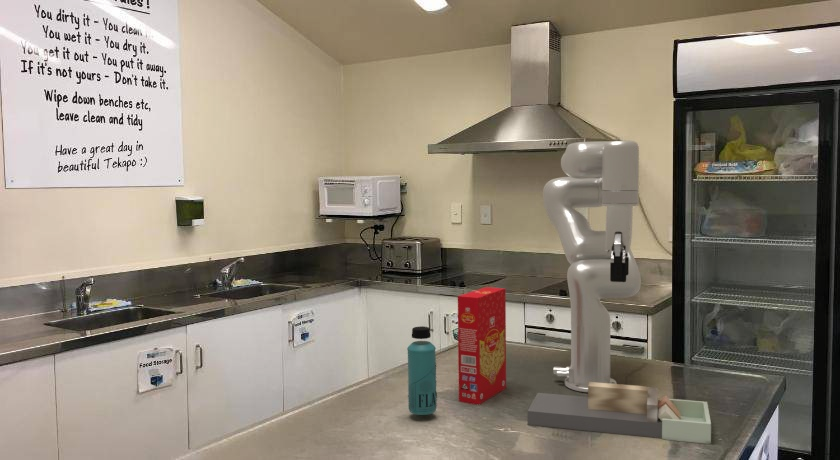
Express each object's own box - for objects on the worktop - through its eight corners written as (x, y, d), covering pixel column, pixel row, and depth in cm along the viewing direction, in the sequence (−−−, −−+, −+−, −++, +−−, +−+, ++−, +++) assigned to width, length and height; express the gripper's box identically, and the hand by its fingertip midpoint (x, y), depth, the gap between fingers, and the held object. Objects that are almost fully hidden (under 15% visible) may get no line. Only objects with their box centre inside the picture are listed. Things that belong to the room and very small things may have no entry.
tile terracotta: (658, 407, 148) (665, 401, 147) (658, 400, 152) (665, 395, 152) (672, 424, 147) (680, 418, 147) (672, 417, 151) (680, 411, 151)
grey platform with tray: (527, 425, 150) (527, 407, 149) (538, 404, 163) (538, 387, 162) (710, 444, 138) (711, 424, 138) (706, 420, 151) (707, 401, 151)
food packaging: (478, 404, 164) (477, 297, 162) (458, 401, 166) (457, 296, 164) (506, 388, 176) (505, 288, 174) (487, 384, 179) (486, 286, 177)
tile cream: (657, 416, 142) (665, 411, 142) (658, 409, 147) (665, 404, 146) (673, 434, 142) (681, 428, 141) (673, 426, 146) (681, 421, 145)
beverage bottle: (416, 423, 152) (414, 332, 150) (402, 414, 158) (401, 326, 156) (442, 418, 155) (441, 328, 153) (428, 409, 161) (427, 323, 159)
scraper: (585, 415, 146) (585, 392, 146) (591, 398, 158) (591, 376, 157) (657, 422, 142) (657, 398, 141) (657, 403, 153) (658, 381, 153)
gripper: (605, 197, 161) (604, 272, 162) (598, 200, 144) (598, 283, 146) (639, 197, 158) (639, 273, 160) (636, 200, 142) (636, 285, 143)
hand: (619, 278), depth 153 cm, fingers open, 9 cm apart
